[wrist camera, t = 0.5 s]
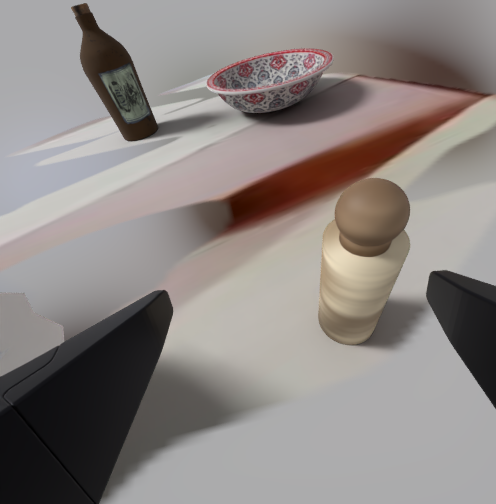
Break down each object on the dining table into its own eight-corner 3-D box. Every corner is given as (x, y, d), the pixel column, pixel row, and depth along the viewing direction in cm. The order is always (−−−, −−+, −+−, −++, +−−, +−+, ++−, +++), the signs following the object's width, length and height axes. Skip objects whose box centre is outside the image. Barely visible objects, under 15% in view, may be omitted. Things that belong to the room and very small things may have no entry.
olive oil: (117, 136, 69) (47, 14, 51) (151, 121, 72) (97, 1, 54) (130, 146, 62) (55, 9, 44) (167, 129, 66) (111, -5, 47)
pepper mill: (384, 338, 22) (460, 202, 11) (328, 349, 22) (347, 227, 11) (360, 291, 25) (399, 150, 14) (311, 301, 26) (313, 170, 15)
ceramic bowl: (355, 89, 60) (360, 47, 55) (275, 142, 50) (270, 98, 44) (268, 81, 77) (264, 48, 71) (194, 120, 67) (182, 86, 61)
